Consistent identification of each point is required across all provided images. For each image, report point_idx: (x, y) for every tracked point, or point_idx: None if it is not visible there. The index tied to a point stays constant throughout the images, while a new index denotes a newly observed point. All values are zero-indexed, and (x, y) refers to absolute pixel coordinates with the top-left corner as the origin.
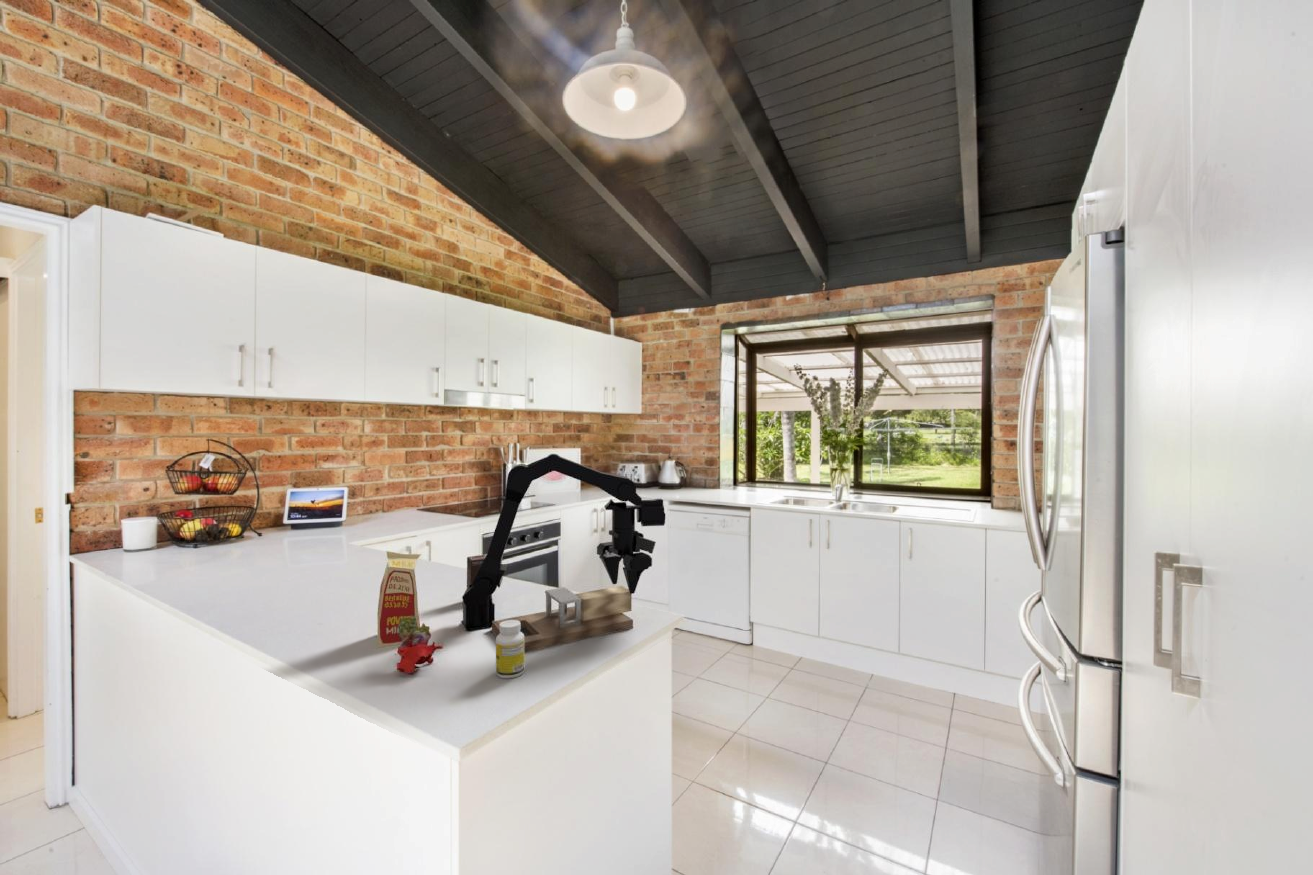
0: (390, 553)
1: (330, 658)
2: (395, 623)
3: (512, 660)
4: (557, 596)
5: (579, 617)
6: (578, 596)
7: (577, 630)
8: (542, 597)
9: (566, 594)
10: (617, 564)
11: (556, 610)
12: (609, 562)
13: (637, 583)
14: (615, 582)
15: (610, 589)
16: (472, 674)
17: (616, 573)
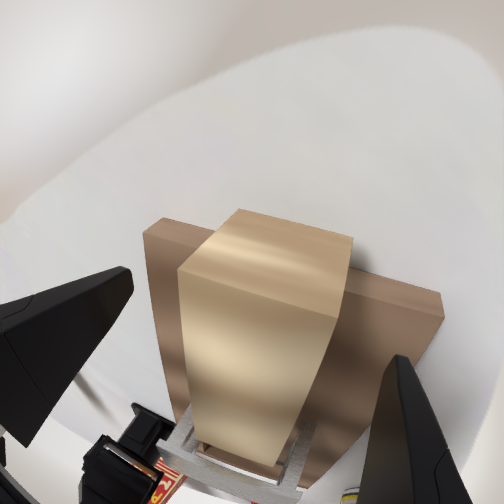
0: None
1: (194, 485)
2: (175, 488)
3: None
4: (232, 492)
5: (310, 443)
6: (226, 450)
7: (346, 443)
8: (45, 272)
9: (228, 483)
10: (13, 343)
11: (171, 378)
12: (28, 406)
13: (438, 426)
14: (124, 282)
15: (211, 361)
16: (327, 498)
17: (76, 314)
